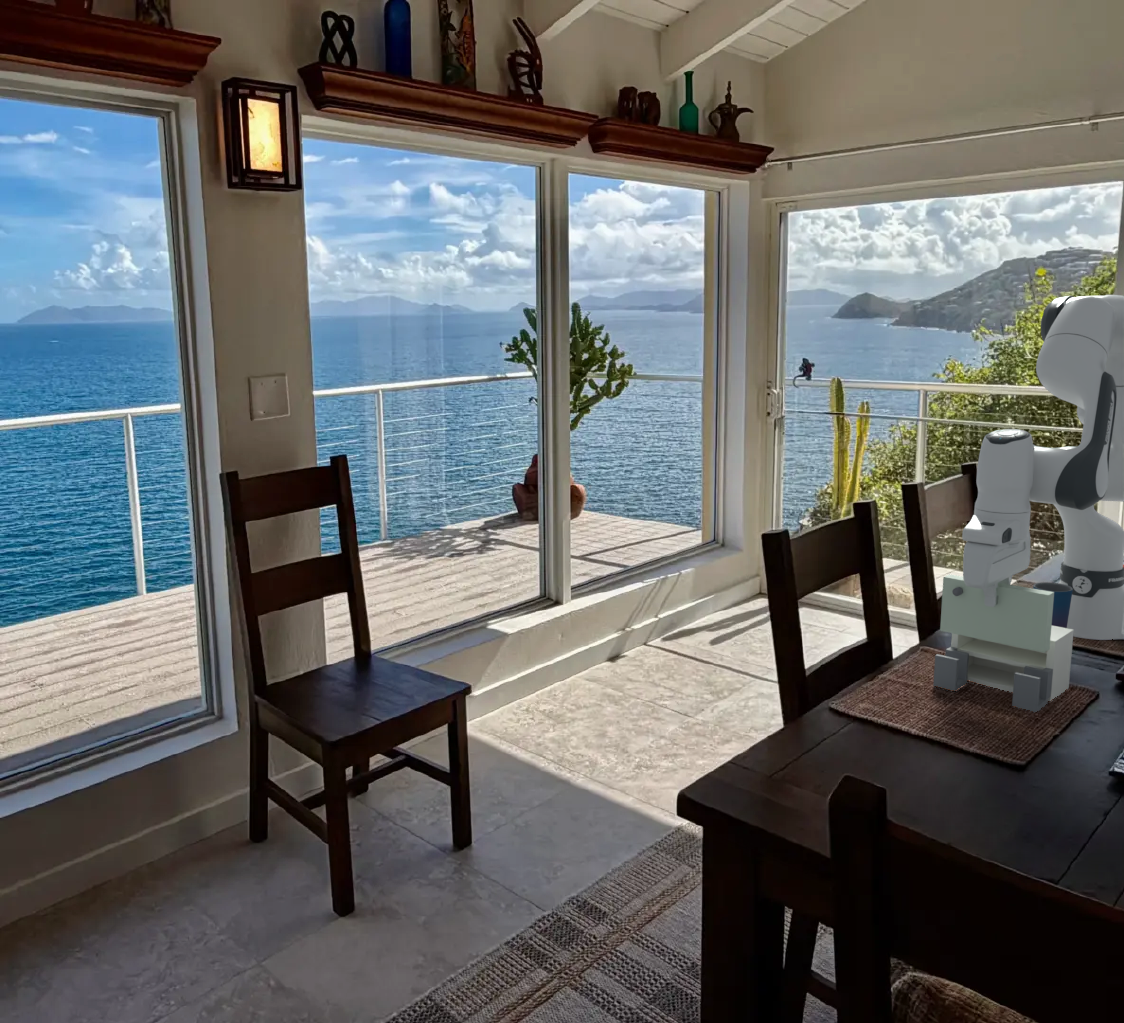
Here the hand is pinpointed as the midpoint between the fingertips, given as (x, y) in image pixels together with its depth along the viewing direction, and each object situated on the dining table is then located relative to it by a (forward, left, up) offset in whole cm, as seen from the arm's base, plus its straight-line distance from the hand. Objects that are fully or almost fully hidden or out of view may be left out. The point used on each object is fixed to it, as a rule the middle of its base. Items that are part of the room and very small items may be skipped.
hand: (995, 603), depth 176 cm
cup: (-25, +1, -17) cm, 30 cm away
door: (0, 0, -7) cm, 7 cm away
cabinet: (-5, 0, -17) cm, 18 cm away
